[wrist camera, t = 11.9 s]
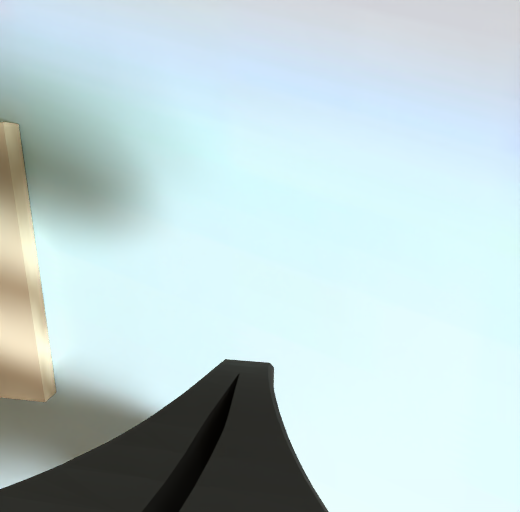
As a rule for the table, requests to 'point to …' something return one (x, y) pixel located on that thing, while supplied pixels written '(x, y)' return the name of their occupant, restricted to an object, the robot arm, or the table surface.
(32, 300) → the birch board
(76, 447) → the table surface
